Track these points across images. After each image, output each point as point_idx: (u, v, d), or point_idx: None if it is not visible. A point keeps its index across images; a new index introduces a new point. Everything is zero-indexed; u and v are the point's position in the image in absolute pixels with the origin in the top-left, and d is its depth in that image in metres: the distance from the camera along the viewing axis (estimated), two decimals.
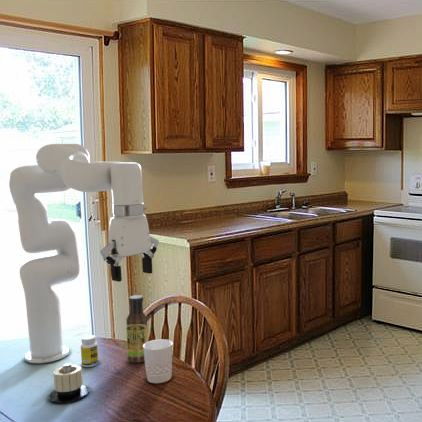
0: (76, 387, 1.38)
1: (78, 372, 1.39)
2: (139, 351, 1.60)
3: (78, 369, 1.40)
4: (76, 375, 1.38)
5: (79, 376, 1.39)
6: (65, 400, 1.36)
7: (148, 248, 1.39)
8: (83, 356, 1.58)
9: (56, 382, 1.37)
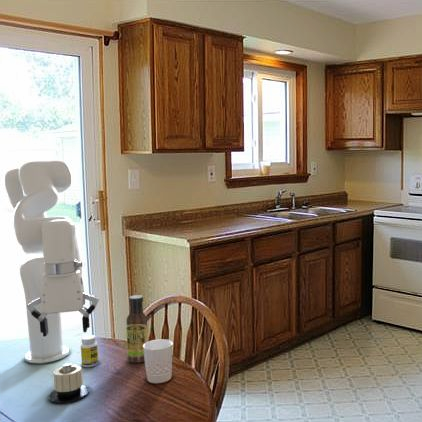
0: (76, 387, 1.38)
1: (78, 372, 1.39)
2: (139, 351, 1.60)
3: (78, 369, 1.40)
4: (76, 375, 1.38)
5: (79, 376, 1.39)
6: (65, 400, 1.36)
7: (79, 307, 1.37)
8: (83, 356, 1.58)
9: (56, 382, 1.37)
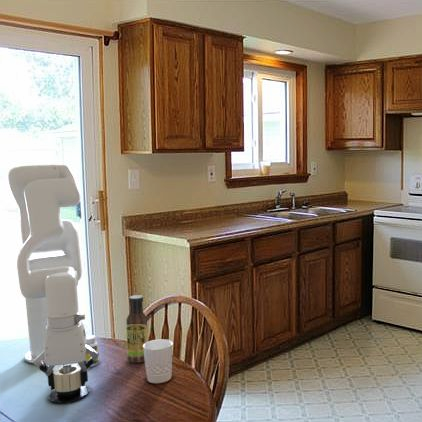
0: (76, 387, 1.38)
1: (78, 372, 1.39)
2: (139, 351, 1.60)
3: (78, 369, 1.40)
4: (76, 375, 1.38)
5: (79, 376, 1.39)
6: (65, 400, 1.36)
7: (81, 359, 1.38)
8: None
9: (56, 382, 1.37)
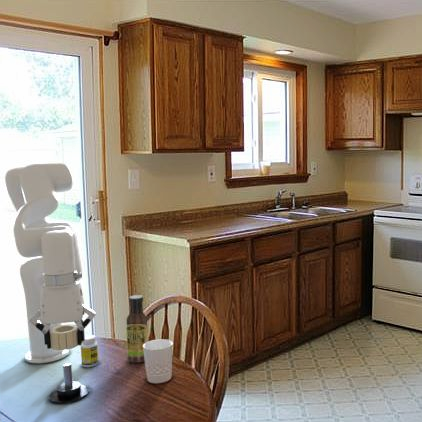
0: (73, 346, 1.37)
1: (75, 331, 1.38)
2: (139, 351, 1.60)
3: (75, 328, 1.39)
4: (73, 334, 1.37)
5: (76, 335, 1.38)
6: (65, 400, 1.36)
7: (78, 318, 1.37)
8: (83, 356, 1.58)
9: (52, 340, 1.36)
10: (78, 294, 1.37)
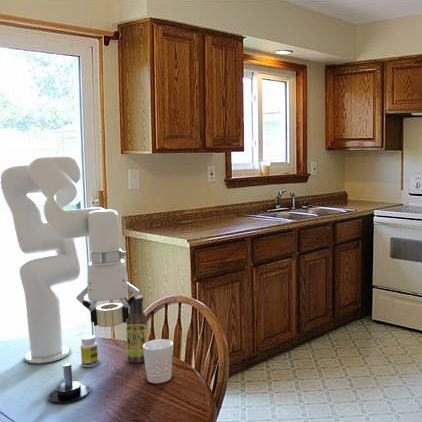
0: (118, 323, 1.40)
1: (120, 308, 1.40)
2: (139, 351, 1.60)
3: (120, 306, 1.42)
4: (118, 311, 1.40)
5: (121, 312, 1.41)
6: (65, 400, 1.36)
7: (123, 295, 1.40)
8: (83, 356, 1.58)
9: (99, 317, 1.39)
10: (123, 272, 1.40)
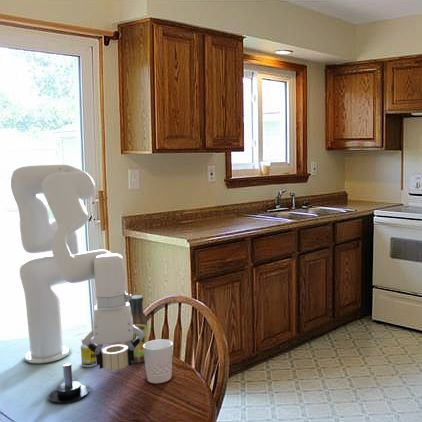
0: (124, 365, 1.42)
1: (126, 351, 1.42)
2: (139, 351, 1.60)
3: (125, 348, 1.43)
4: (124, 354, 1.41)
5: (126, 355, 1.42)
6: (65, 400, 1.36)
7: (129, 338, 1.42)
8: (83, 356, 1.58)
9: (105, 360, 1.40)
10: (129, 315, 1.41)
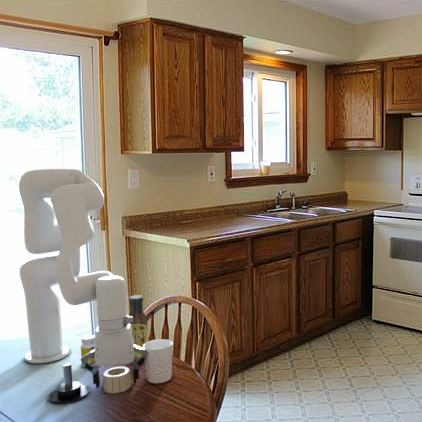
0: (125, 388, 1.42)
1: (127, 374, 1.43)
2: None
3: (127, 371, 1.44)
4: (125, 377, 1.42)
5: (128, 378, 1.43)
6: (65, 400, 1.36)
7: (130, 360, 1.43)
8: None
9: (106, 383, 1.41)
10: (130, 337, 1.42)
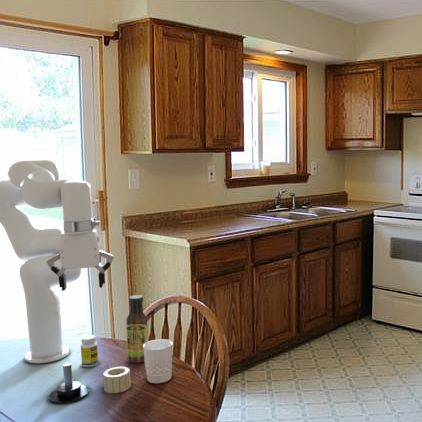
0: (125, 388, 1.42)
1: (127, 374, 1.43)
2: (139, 351, 1.60)
3: (127, 371, 1.44)
4: (125, 377, 1.42)
5: (128, 378, 1.43)
6: (65, 400, 1.36)
7: (95, 263, 1.45)
8: (83, 356, 1.58)
9: (106, 383, 1.41)
10: (95, 241, 1.45)
